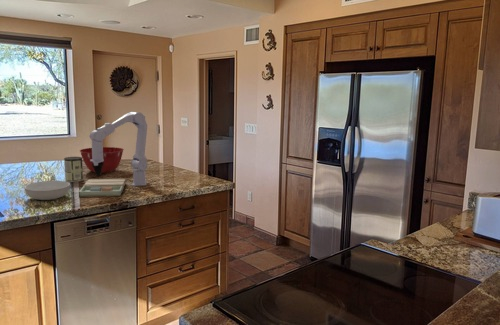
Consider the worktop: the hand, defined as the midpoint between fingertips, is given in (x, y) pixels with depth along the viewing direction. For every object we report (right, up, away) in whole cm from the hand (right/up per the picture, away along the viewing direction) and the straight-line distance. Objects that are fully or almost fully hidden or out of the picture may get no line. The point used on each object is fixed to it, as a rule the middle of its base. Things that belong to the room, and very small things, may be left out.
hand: (98, 175), depth 217 cm
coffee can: (-24, -4, +23) cm, 34 cm away
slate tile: (0, -7, -5) cm, 8 cm away
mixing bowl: (-18, +1, +52) cm, 55 cm away
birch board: (0, -7, +10) cm, 12 cm away
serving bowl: (-19, -11, -17) cm, 28 cm away
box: (+3, -9, -4) cm, 11 cm away
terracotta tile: (+6, -7, -4) cm, 10 cm away
